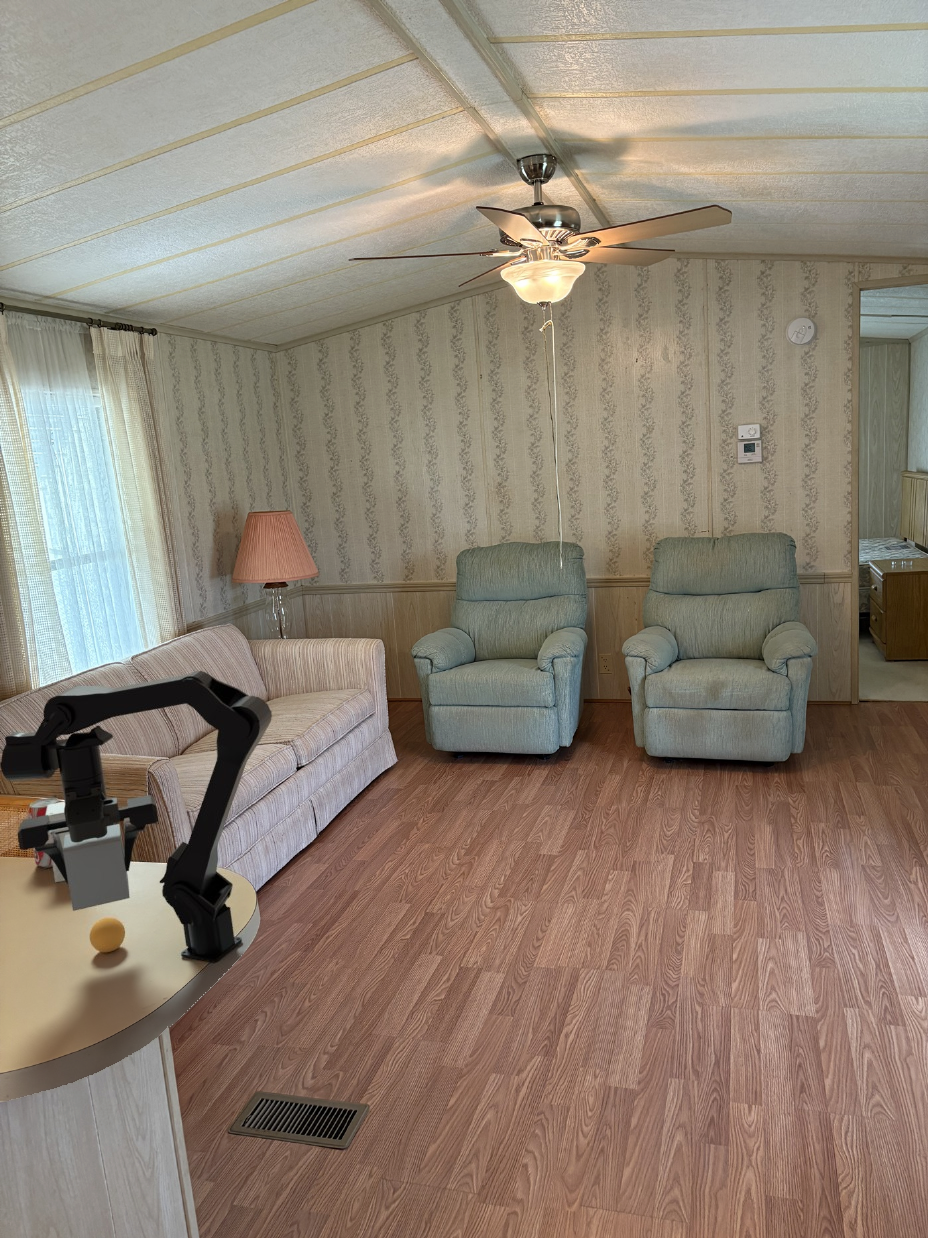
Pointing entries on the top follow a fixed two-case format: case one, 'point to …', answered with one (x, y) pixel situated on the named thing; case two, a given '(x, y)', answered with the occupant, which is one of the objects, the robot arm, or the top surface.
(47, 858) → the beverage can
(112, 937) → the ball
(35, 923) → the top surface
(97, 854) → the pale grey box
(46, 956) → the top surface
